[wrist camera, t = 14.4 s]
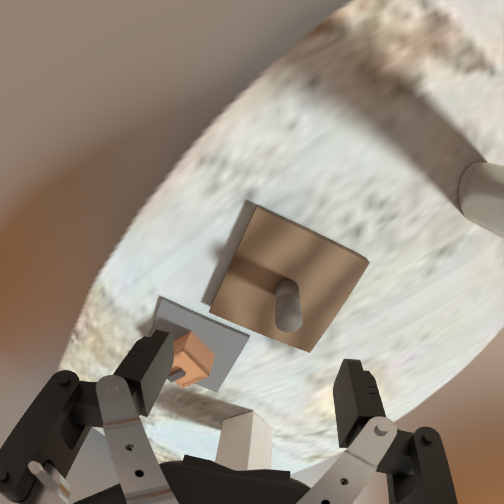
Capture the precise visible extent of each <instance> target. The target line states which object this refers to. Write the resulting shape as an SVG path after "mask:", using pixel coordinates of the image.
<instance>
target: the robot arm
mask: <svg viewBox="0 0 504 504" xmlns="http://www.w3.org/2000/svg"><path fill="white" fill-rule="evenodd" d="M458 198H459V204H460V208H461V210H462V212H463V214H464V216H465V217H466V218H467V219H468V220H469V221H471V222H473V223H475V224H477V225H479V226H480V227H482V228H484V229H486V230H488V231H490V232H492V233H493V234H495V235H497V236H499V237H501V238H502V239H504V166H501V165H496V164H491V163H486V162H475V163H473V164H471V165H470V166H469V167H468V168H467V169H466V170H465V171H464V173H463V175H462V177H461V180H460V183H459V189H458ZM173 361H174V348H173V333H172V332H169V331H165V330H160V329H156V330H155V331H154V333H153V334H152V336H151V337H150V338H149V337H143V338H141V339H140V340H138V341H137V342H136V343H135V344H134V346H133V347H132V349H131V350H130V351H129V353H128V355H126V357H125V358H124V360H123V361H122V362H121V364H120V365H119V367H118V368H117V370H116V371H115V372H114V374H113V375H108V376H105V377H102V378H101V379H100V380H99V381H98V382H87V381H79V378H78V376H77V374H75V373H74V372H72V371H68V370H63V371H59V372H57V373H55V374H54V375H53V376H52V377H51V379H50V380H49V381H48V383H47V384H46V385H45V386H44V388H43V389H42V390H41V392H40V393H39V395H38V396H37V397H36V398H35V400H34V401H33V403H32V404H31V405H30V407H29V408H28V409H27V411H26V412H25V413H24V415H23V416H22V418H21V419H20V421H19V422H18V423H17V425H16V426H15V428H14V429H13V431H12V432H11V434H10V435H9V437H8V438H7V440H6V441H5V443H4V444H3V446H2V447H1V449H0V493H1V494H2V495H3V496H4V497H5V498H6V499H7V500H8V501H9V502H11V503H12V504H69V495H70V487H69V484H68V482H67V481H66V480H65V478H66V476H67V474H68V472H69V470H70V468H71V466H72V464H73V462H74V460H75V458H76V456H77V454H78V452H79V450H80V448H81V446H82V444H83V442H84V440H85V438H86V437H87V435H88V433H89V431H90V429H91V427H92V426H93V427H102V428H103V429H104V433H105V437H106V440H107V444H108V447H109V451H110V454H111V458H112V461H113V464H114V467H115V470H116V473H117V476H118V479H119V482H120V483H119V484H117V485H115V486H113V487H110V488H108V489H106V490H104V491H102V492H99V493H97V494H94V495H92V496H89V497H87V498H84V499H82V500H79V501H77V502H75V503H73V504H352V503H353V502H354V500H355V499H356V498H357V497H358V495H359V494H360V492H361V491H362V490H363V488H364V487H365V486H366V484H367V483H368V481H369V480H370V479H371V477H372V476H373V474H374V473H375V471H377V472H382V473H386V475H387V484H388V494H389V504H458V503H457V499H456V494H455V489H454V485H453V481H452V477H451V473H450V469H449V465H448V461H447V458H446V454H445V451H444V447H443V444H442V440H441V437H440V435H439V433H438V432H437V431H436V430H434V429H432V428H430V427H421V428H419V429H417V430H416V431H415V433H410V432H405V431H401V430H398V429H397V428H396V425H395V424H394V423H393V421H391V420H390V419H388V418H386V415H385V411H384V408H383V404H382V401H381V397H380V395H379V390H378V388H377V384H376V380H375V378H374V377H373V376H372V374H371V373H370V372H369V371H363V368H362V364H361V361H360V360H354V359H344V360H343V362H342V364H341V367H340V370H339V372H338V375H337V377H336V380H335V382H334V387H333V397H334V405H335V413H336V422H337V431H338V440H339V448H347V450H345V451H344V452H343V454H342V455H341V456H340V457H339V458H338V459H337V461H336V462H335V463H334V464H333V465H332V466H331V468H330V469H329V470H328V471H327V472H326V473H325V474H324V475H323V476H322V478H321V479H320V480H319V481H318V482H317V483H316V484H315V485H314V486H313V487H312V488H310V487H308V486H307V485H306V484H304V483H302V482H300V481H298V480H295V479H292V478H290V471H281V470H270V469H257V470H243V471H236V470H233V469H230V468H228V467H225V466H223V465H220V464H218V463H215V462H213V461H211V460H206V459H202V458H197V457H193V456H189V455H184V458H183V461H169V462H164V463H160V464H158V461H157V459H156V457H155V455H154V452H153V450H152V448H151V445H150V443H149V440H148V438H147V435H146V433H145V430H144V428H143V425H142V422H141V420H140V418H139V415H142V416H146V417H148V415H149V413H150V411H151V409H152V407H153V405H154V403H155V401H156V399H157V397H158V395H159V393H160V391H161V389H162V387H163V385H164V383H165V381H166V379H167V377H168V375H169V373H170V371H171V368H172V366H173Z"/></svg>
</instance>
